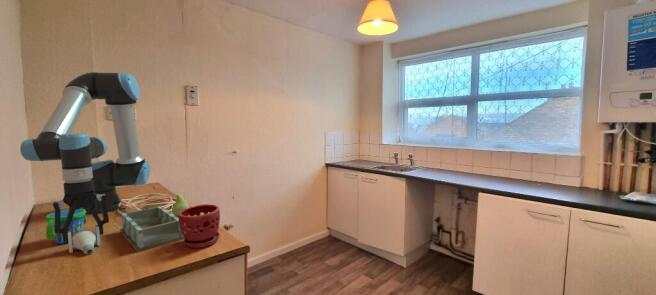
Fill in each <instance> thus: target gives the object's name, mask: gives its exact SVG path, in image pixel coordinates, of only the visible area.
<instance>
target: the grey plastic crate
mask: <svg viewBox="0 0 656 295" xmlns="http://www.w3.org/2000/svg"><path fill="white" fill-rule="evenodd" d="M121 223H122V224H121V225H122V228H121V229H119V231H120V233H121V235H122V236H123V237H124V239H125V240H127V242H128V243H129V244H130V246H131V247H133V249H134V250H135V251H136V253H140V252H143V251H147V250H148V251H149V250H150V249H154V248H157V247H161V246H165V245H169V244H172V243H175V242H179V241H181V240H182V241H183V240H184V239H185V237H184V236H183V234H182V232H181V229H180V225H179V218H178V216H175V215H174V214H173V213H172V212H170V211H169V210H167V209H165V208H164V207H162V206H160V205H159V206H155V207H149V208H145V209H139V210H135V211H134V210H133V211H131V212H125V213H121Z"/></svg>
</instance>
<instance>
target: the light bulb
mask: <svg viewBox="0 0 656 295" xmlns="http://www.w3.org/2000/svg"><path fill="white" fill-rule="evenodd" d="M95 243H96V232H95V230H91V229H89V228H85V229H83V230H80V231H79V232H77V233H75V234H74V235H73V237H72V247H73V248H74V249H76V250H81V251H82V252H83V254H84V255H91V254H93V253H94V251H95Z"/></svg>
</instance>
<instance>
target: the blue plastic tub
mask: <svg viewBox="0 0 656 295" xmlns="http://www.w3.org/2000/svg"><path fill="white" fill-rule="evenodd" d="M68 211H69V209H64V210H60V228H63V226H64V223H65V220H66V217H67V214H68ZM86 214H87V213H86V211H85V209H82V208H80V209H76V210H75V213H74V215H73V218H72V221H71V224H70V227H69V230H68V231H70V232H71V239H72V237H73V235H74V234H75V233H77V232H79V231H80V230H84V227H85V226H84V225H86V223H87V222H88V221H87V217H86ZM45 221H46V222H47V225H46V231H45V238H46V239H47V240H53V241H54V243H56V244H58V245H59V244H60V245H62V244H65V243H64V242H63V234H61V233H58V234H56V233H55V231H54V222H55V211H54V212H51V213H49V214H47V215H46V216H45Z"/></svg>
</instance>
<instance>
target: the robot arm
mask: <svg viewBox="0 0 656 295" xmlns="http://www.w3.org/2000/svg"><path fill="white" fill-rule="evenodd" d="M140 91H141V90H140V87H139V83H138V82H137V80H136V78H135V76H133V74H130V73H123V72H96V71H94V72H93V71H91V72H90V71H89V72H86V73H83V74H80V75H78V76H77V77H75V78H73V79H71V80H70V81H69V82H68V83H67V84H66V85H65V87H63V90H62V91H61V94H62V97H61V99H60V101H59V102H58V104H57V105H56V107H55V109H54V110H53V112H52V113H51V115H50V117H49V118H48V120H47V122H46V123H45V124H44V126H43V127H42V129H41V131H40V133H39V134H38V136H37V137H36V138H27V139H25V140H23V141H22V142H21V144H20V148H19V151H20V154H21V156H22V157H23V159H25V160H26V161H30V162H44V161H61V162H60V163H61V175H62V181H64V183H63V193H64V194H63V195H64V196H63V198H62V199H61V200H57V201H53V202H52V204H51V205H52V207H53V209H54V212H55V222H54V231H55V233H56V234H58V233H61V234H63V242H64V243H63V244H68V252H69V254H72V253H74V251H73V250H74V249H73V245H72V239H71V232H70V231H68V230H69V227H70V224H71V221H72V218H73V215H74V213H75V210H76V209H85V211H86V214H91V215H92V217H93V219H94V221H95V222H96V224H95V225H94V232H95V234H96V242H95V243H96V246H99V247H100V246H101V237H100V236H101V235H104V226H105V224H107V223H109V222H110V219H109V213H108V212H111V211H115V210H116V209H119V208H118V204H119V203H120V202H121V203H122V200H121V198H120V196H119V194H118V193H117V187H131V186H132V187H133V186H142V185H146V184H147V183H148V181H149V177H150V174H151V164H150V161H148V160H146V159H145V156H144V155H141V151H140V144H139V138H138V137H139V136H138V130H137V124H136V117H135V110H134V107H135V105H137V100H140V97H141V92H140ZM94 100H104V102H105V105H106V106H107V107H108V108H110V112H111V117H112V118H111V120H112V124H113V129H114V136H115V141H116V147H117V153H118V157H117V159H115V161H114V159H105V160H100V161H99V160H98V161H95V162H92V160H93V159H98V158H100V157H102V156H104V155H105V154H106V153H107V151H108V144H107V142H106V141H105V140H104V139H102V138H101V137H96V136H92V137H90V135H89V133H82V132H81V133H80V132H79V133H72V132H73V130H74V128H75V126H76V124H77V123H78V120H79V118H80V116H81V115H82V113H83V111H84V110H85V107H86V106H87V105H89V104H91V103H92V101H94ZM63 204H65V205H67V206H68V207H69V208H68V210H69V211H68V214H67V217H66V220H65V223H64V226H63V228H60V211H61V208H62V207H63ZM100 213H102V214H101V215H102V219H101V218H100V216H99V215H98V214H100Z"/></svg>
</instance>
